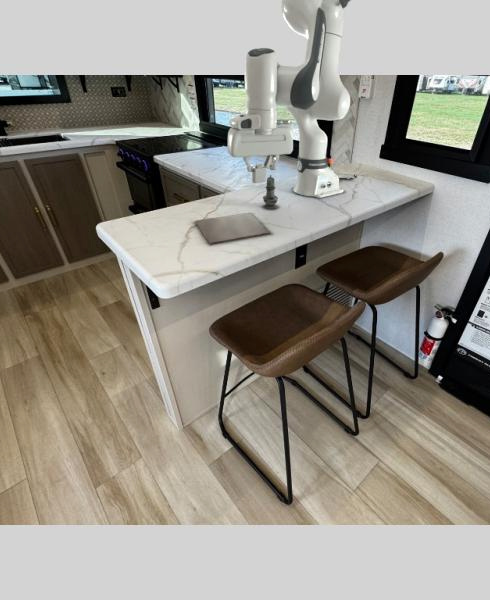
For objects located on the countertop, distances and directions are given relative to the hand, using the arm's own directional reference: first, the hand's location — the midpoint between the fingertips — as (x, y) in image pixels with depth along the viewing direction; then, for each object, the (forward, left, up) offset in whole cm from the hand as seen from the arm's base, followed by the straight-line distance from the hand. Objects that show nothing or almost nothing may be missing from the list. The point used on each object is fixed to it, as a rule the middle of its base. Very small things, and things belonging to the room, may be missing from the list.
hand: (261, 170), depth 99 cm
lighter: (-1, 0, -4) cm, 4 cm away
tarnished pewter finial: (-9, -13, -18) cm, 24 cm away
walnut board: (+11, 0, -18) cm, 21 cm away
